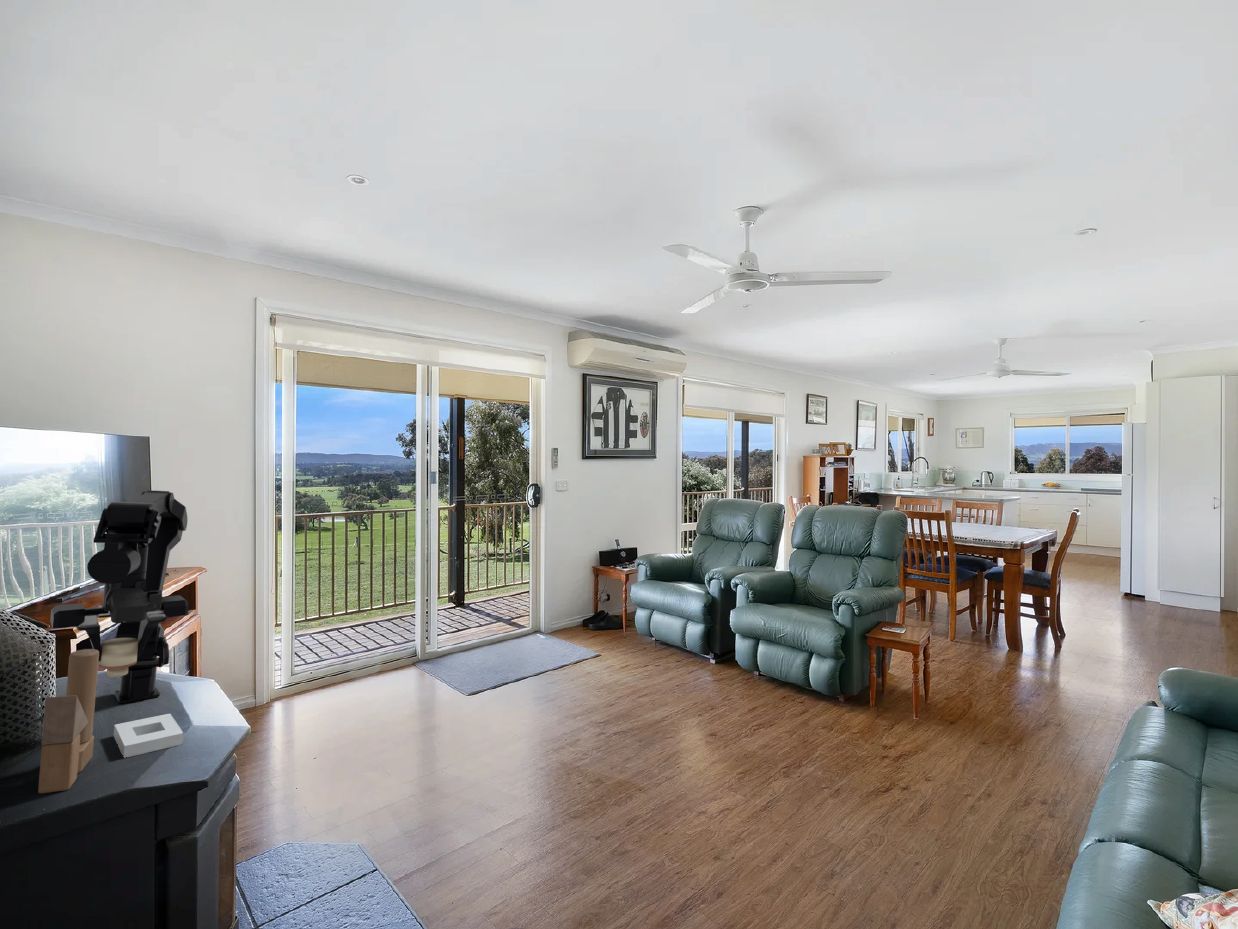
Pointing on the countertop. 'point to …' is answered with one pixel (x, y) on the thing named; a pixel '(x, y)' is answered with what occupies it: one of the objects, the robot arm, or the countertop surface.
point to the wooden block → (69, 725)
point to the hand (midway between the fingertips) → (118, 658)
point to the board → (147, 735)
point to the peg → (118, 655)
